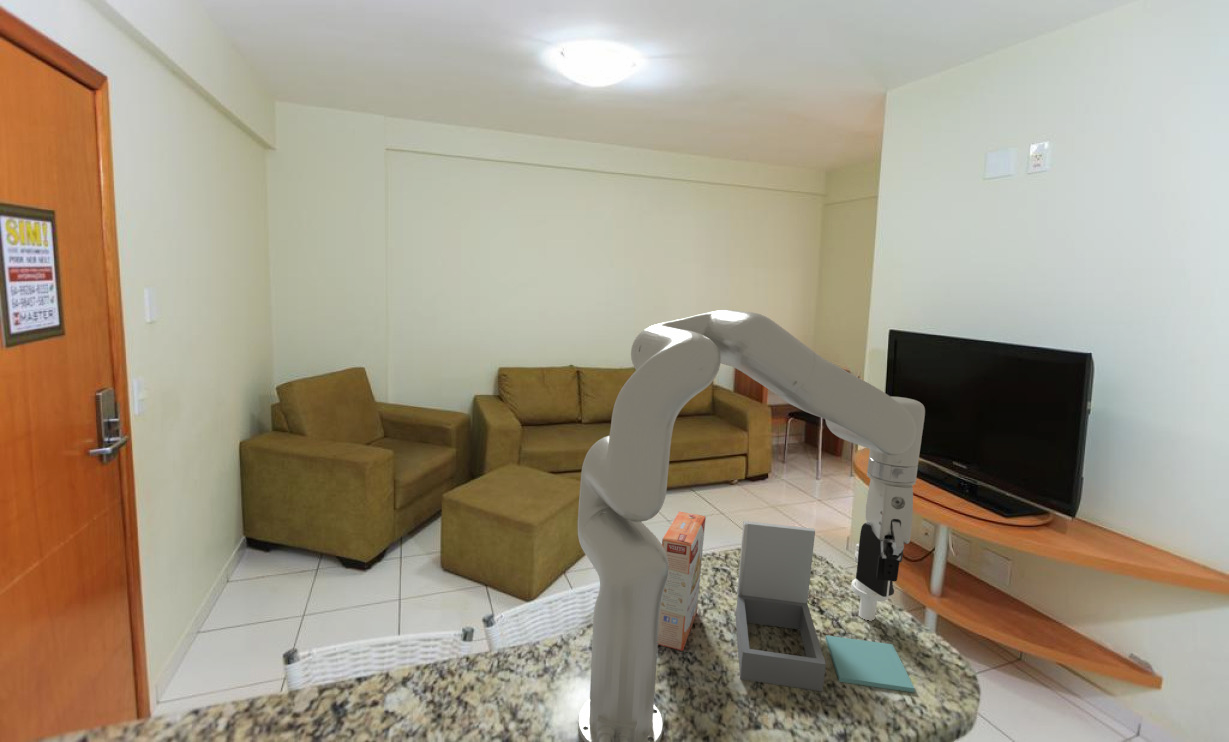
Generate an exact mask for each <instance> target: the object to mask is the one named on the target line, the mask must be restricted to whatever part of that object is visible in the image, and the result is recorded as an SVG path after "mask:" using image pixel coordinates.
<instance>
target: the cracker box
mask: <svg viewBox="0 0 1229 742" xmlns="http://www.w3.org/2000/svg"><path fill="white" fill-rule="evenodd" d="M706 519H707V517H706V516H705V515H702V514H701V515H700V514H695V513H688V512H685V511H678V512H677V514H676V516H675V517H674V518H673V520H672V522H671V523H670V525H669V527H668V528H667V530H666V532H665V533H664V536H662V538H661V539H662V540H661V541H662V542H661V544H662V546H663V548H664V550H665V552H666V555H667V558H668V565H669V570H668V578H667V582H666V585H665V589H664V593H663V597H662V602H661V608H660V617H659V630H658V646H663V647H666V648H670V649H674V650H677V651H682V652H684V649H685V647H686V644H687V641H688V638H689V635H690V632H691V630H692V626H693V624H694V621H695V618H696V615H697V614H698V613H697V612H698V605H699V593H700V583H701V572H702V563H703V562H702V561H703V560H702V559H703V547H704V540H705V539H704V538H705V527H706Z"/></svg>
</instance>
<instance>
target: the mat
mask: <svg viewBox="0 0 1229 742" xmlns="http://www.w3.org/2000/svg"><path fill="white" fill-rule="evenodd" d="M825 642H826V646H827V649H828V651H829V654H830V657H831V660H832V664H833V666H834V669H835V673H836V676H837V679H838V682H839V683H845V684H846V683H847V684H853V685H860V686H867V687H873V688H874V687H875V688H879V689H880V688H881V689H887V690H894V691H899V690H900V692H908V693H913V694H914V693H915V690H916V687H915V686H914V684H913V682H912V680H911V678H910V677H909V674H908V672H907V669H906V668H905V666H904V664H903V662H902V660H901V658H900V657H899V654H898V653H897V650H896V649H895V647H894V645H893V643H885V642H884V643H883V642H879V641H878V642H876V641H870V640H865V639H864V640H863V639H855V638H848V637H841V636H834V635H828V634H827V635H825Z"/></svg>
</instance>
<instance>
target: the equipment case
mask: <svg viewBox="0 0 1229 742" xmlns="http://www.w3.org/2000/svg"><path fill="white" fill-rule="evenodd" d="M741 533H742V536H741V546H740V547H741V548H740V557H739V570H738V581H737V596H736V598H737V599H736V607H735V625H736V627H735V628H736V638H737V652H738V666H739V669H738V670H739V679H740V680H745V681H751V682H756V683H763V684H771V685H777V686H785V687H791V688H797V689H803V690H810V691H816V692H824V691H823V690H824V685H825V684H824V682H825V676H826V675H825V674H826V666H827V663H826V661H825V660H826V659H825V657H824V655H823V651H822V647H821V644H820V641H819V637H818V634H817V631H816V627H815V625H814V621H813V618H812V615H811V610H810V608H809V605H808V604H809V603H808V601H809V591H810V584H811V583H810V581H811V574H812V564H813V554H814V548H815V547H814V545H815V538H816V537H815V536H816V530H815V528H810V527H803V526H802V527H801V526H792V525H784V524H775V523H767V522H766V523H765V522H756V521H749V520H746V521H745V520H744V521H743V524H742V532H741ZM748 623H749V624H756V625H764V626H769V627H770V626H771V627H779V628H785V629H793V630H799V632H800V633H799V634H800V637H801V641H802V644H803V649H804V652H805V656H801V655H796V654H795V655H794V654H787V653H780V652H773V651H766V650H762V649H761V650H759V649H752V648H750V641H749V632H748Z"/></svg>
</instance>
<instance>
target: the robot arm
mask: <svg viewBox="0 0 1229 742" xmlns="http://www.w3.org/2000/svg"><path fill="white" fill-rule="evenodd" d="M630 357H631V362H632V365H633V367H634V369H635V371H634V372H633V373H632V374H631V376H630V377H629V378H627V380H626V382H625V383H624V385H623V386H622V387H621V389H620V391H619V392H618V394H617V397H616V399H615V402H614V405H613V409H612V414H611V422H610V423H611V424H610V430H609V435H607V436H604V437H602V438H600V439H599V440H597V441H596V442H595V443H593V445H592V446H591V447H589V449H588V451H587V452H586V454H585V457H584V459H583V463H582V467H581V472H580V485H579V497H578V498H579V500H578V512H577V513H578V515H577V516H578V517H577V535H578V541H579V545H580V547H581V550H582V551H583V553H584V554H585V556H586V557H587V558H588V560H589V562H590V563H591V565H592V567H593V568H594V570H595V572H596V573H597V575H598V579H599V589H598V590H599V592H598V594H597V598H596V600H595V604H594V609H593V617H592V619H593V620H592V640H591V641H592V642H591V643H592V645H591V661H590V662H591V663H590V664H591V667H590V668H591V669H590V683H589V685H590V686H589V687H590V688H589V698H588V700H587V701H586V702H585V703H584V704H583V705H582V707H581V709H580V712H579V714H578V721H577V722H578V723H577V726H578V727H577V728H578V733H579V736H580V737H581V740H582V741H583V742H661V739H662V736H663V732H664V731H663V729H664V720H663V717H662V713H661V712H660V710H659V709H658V707H657V706H656V705H655V693H656V690H655V689H656V677H657V661H658V647H659V645H658V630H659V617H660V608H661V602H662V597H663V593H664V589H665V585H666V582H667V578H668V570H669V565H668V558H667V555H666V552H665V550H664V548H663V546H662V542H661V541H660V540H659V539H658V537H657V536H656V534H654V533H653V532H652V531H651V530H650V529H649V528H648V527H647V526H646V525H645V524H644V523H643V522H646V521H649V520H652V519H653V518H654V517H656V515H658V513H659V512H660V510H661V509H662V508H663V506H664V504H665V500H666V496H667V489H668V488H667V487H668V476H669V469H670V468H669V467H670V454H671V444H672V438H673V430H674V425H675V422H676V419H677V417H678V416H679V414H680V413H681V411H682V409H683V408H684V407H685V406H686V405H687V403H688V402H689V401H691V400H692V399H693V398H694V397H695V396H697V395H698V394H699V393H701V392H703V391H704V390H705V389H707V388H708V387H709V386H710V385H711V384H712V383H713V382H714V380H715V379H716V378H717V375H718V373H719V371H720V368H721V364H722V365H725V366H729V367H732V368H735V369H736V370H738V371H740V372H742V373H743V374H744V375H747V376H748V377H749V378H751V379H752V380H753V381H756V383H759V384H760V385H762V386H763V387H765V388H766V389H767V390H769V391H770V392H772V393H773V394H775V395H776V396H777V397H779V398H780V399H781V400H783V401H785V402H786V403H788V404H789V405H791V406H793V407H796V408H797V409H800V410H802V411H803V412H805V413H808V414H810V415H813V416H816V417H818V418H821V419H823V420H825V425H826V426H827V428H828V429H829V431H830V432H831V433H832V434H834V435H835V436H836V437H837V438H840V439H841V440H845V441H846V442H849V443H852V444H854V445H858V446H861V447H863V448H865V449H869V453H868V462H867V471H866V476H867V477H868V478H869V479H870V481H869V485H868V491H867V498H866V504H865V520H866V522H869V523H870V524H871V527H872V531H873V532H874V534H875V535H876V537H877V538H878V539H879V540H881V556H878V564H877V572H876V577H877V579H879V580H887V581H893V582H897V581H898V578H899V577H898V576H899V569H900V563H901V562H900V559H901V554H902V551H903V552H904V548H905V545H908V544H909V543H910V542H911V537H912V536H911V535H912V527H913V525H912V523H913V513H914V512H913V511H914V509H913V508H914V488H913V486H915V485H916V484H917V483H916V482H917V477H918V476H917V475H918V468H919V467H918V466H919V459H920V452H921V445H922V439H923V438H922V436H923V430H924V425H925V424H924V423H925V416H926V408H925V406H924V404H923V403H921V402H920V401H918V400H916V399H912V398H908V397H901V396H891V395H889V394H887V393H885V392H884V391H883V390H881V389H880V388H878V387H876V386H874V385H872V384H871V383H869V382H867V381H865V380H864V379H861V378H860V377H857V376H856V375H854V374H852V373H851V372H849V371H847V370H846V369H844V368H842V367H841V366H838V365H836V364H835V363H833V362H831V361H830V360H827V359H825V358H824V357H823V356H821V355H819V353H817V352H815V351H814V350H813V349H811V348H810V347H809V346H807V345H806V344H804V343H803V342H802V341H800V340H799V339H798V338H796V337H795V336H794V335H792V333H790V332H788V331H787V330H786V329H784V328H783V327H782V326H780V325H779V324H778V323H777V322H775V321H774V320H772V319H771V318H769V317H767V316H766V315H762V314H760V313H757V312H750V311H741V310H734V309H720V310H714V311H709V312H705V313H701V314H700V313H699V314H696V315H692V316H689V317H684V318H680V319H679V318H678V319H675V320H670V321H664V322H660V323H657V324H656V323H655V324H653V325H650V326H648V327H647V328H644V329H643V330H641V331H640V332H639V333H638V335H637V336H636V337H635V339H634V341H633V343H632V345H631V349H630ZM887 535H888V536H892V539H885V536H887ZM886 543H892V547H889V548H888V549H887V550H886Z"/></svg>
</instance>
